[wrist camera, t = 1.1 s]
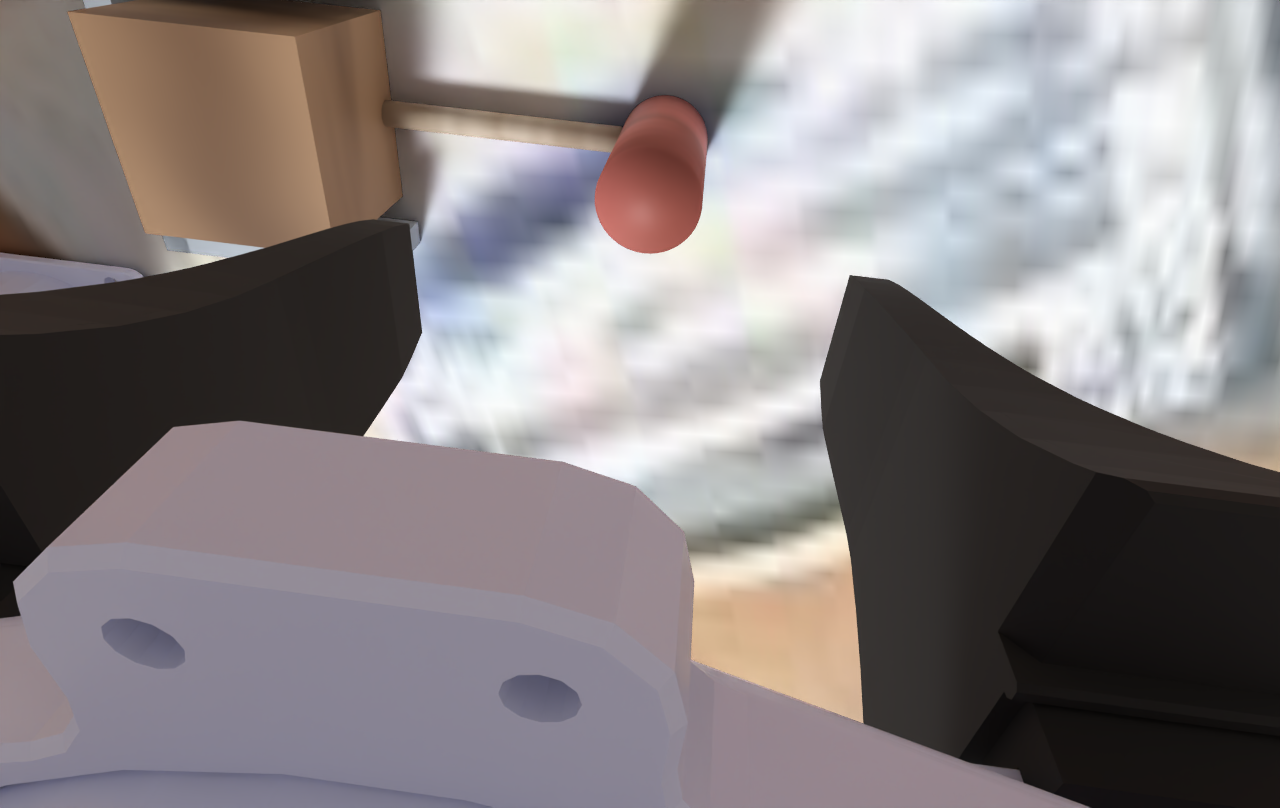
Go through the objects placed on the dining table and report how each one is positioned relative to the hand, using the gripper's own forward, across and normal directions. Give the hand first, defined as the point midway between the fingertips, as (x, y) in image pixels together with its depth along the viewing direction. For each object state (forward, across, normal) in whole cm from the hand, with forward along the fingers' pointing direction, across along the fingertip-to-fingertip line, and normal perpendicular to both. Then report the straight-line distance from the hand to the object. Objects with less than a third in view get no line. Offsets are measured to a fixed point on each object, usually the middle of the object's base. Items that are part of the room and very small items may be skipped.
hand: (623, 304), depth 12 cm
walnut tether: (+10, +6, 0) cm, 11 cm away
